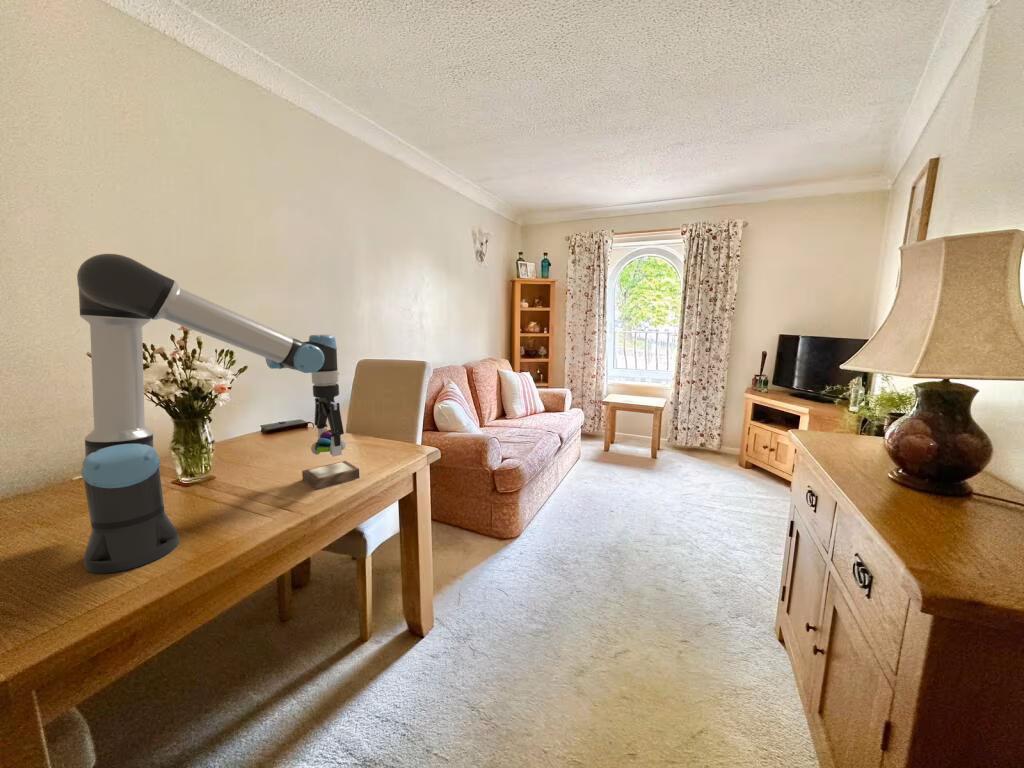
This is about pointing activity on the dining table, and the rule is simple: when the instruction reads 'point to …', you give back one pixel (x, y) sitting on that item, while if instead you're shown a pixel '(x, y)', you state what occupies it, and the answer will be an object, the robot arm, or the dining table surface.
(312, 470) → the plinth
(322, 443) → the rainbow pebble stack
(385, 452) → the dining table surface
